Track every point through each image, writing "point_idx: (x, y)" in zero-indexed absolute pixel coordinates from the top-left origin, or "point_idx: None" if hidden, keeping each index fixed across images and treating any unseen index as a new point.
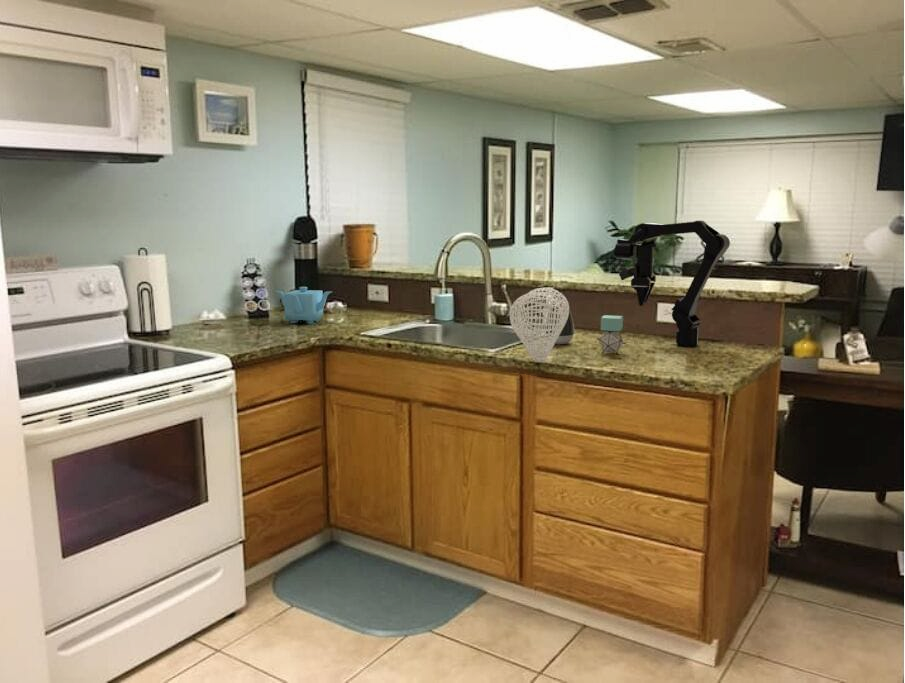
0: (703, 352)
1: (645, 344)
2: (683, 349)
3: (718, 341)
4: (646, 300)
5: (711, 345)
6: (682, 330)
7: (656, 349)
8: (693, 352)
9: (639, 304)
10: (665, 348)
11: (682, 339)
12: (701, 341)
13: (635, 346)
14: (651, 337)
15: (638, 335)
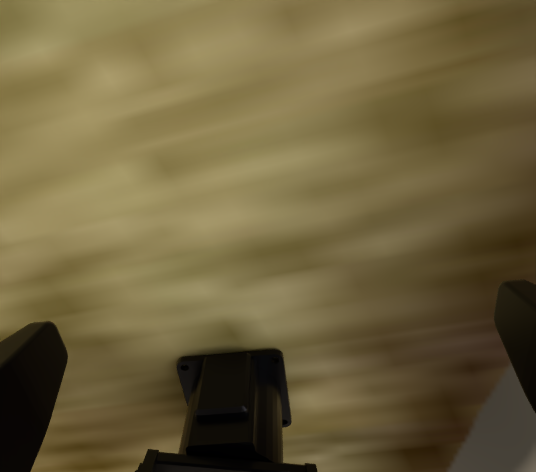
0: (92, 457)
1: (140, 198)
2: (111, 390)
3: (412, 467)
4: (513, 352)
5: (288, 459)
6: (182, 449)
7: (17, 289)
8: (64, 431)
9: (19, 335)
10: (81, 321)
11: (191, 403)
12: (387, 418)
13: (24, 157)
14: (449, 168)
15: (527, 48)
